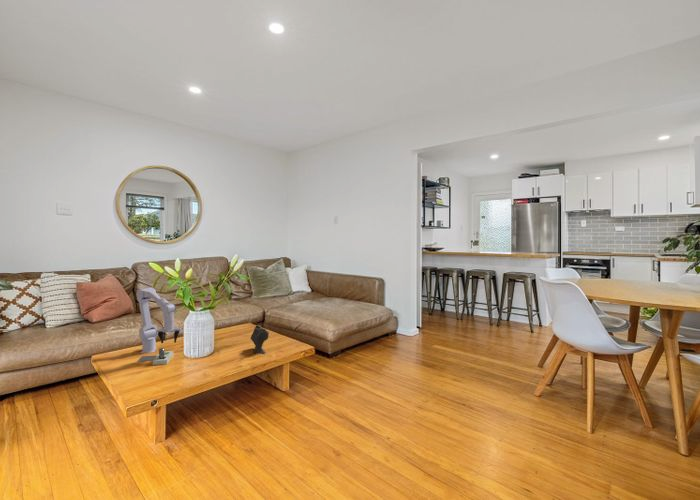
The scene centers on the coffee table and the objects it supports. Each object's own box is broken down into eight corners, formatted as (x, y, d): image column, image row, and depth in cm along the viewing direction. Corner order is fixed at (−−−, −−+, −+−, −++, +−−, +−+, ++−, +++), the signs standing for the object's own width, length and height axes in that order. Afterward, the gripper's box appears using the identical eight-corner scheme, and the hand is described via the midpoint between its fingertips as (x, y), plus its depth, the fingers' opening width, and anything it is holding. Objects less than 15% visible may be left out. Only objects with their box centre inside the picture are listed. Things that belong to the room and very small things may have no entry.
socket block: (160, 356, 222) (160, 351, 222) (173, 355, 224) (173, 351, 224) (152, 365, 206) (152, 360, 206) (166, 364, 208) (166, 359, 208)
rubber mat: (141, 356, 220) (141, 356, 220) (158, 355, 222) (158, 355, 222) (136, 362, 210) (136, 361, 210) (154, 361, 213) (154, 360, 213)
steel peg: (159, 362, 212) (159, 348, 212) (164, 361, 213) (164, 347, 213) (158, 363, 209) (158, 349, 209) (163, 363, 210) (163, 349, 210)
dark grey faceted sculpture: (272, 346, 247) (272, 322, 246) (265, 354, 231) (265, 328, 230) (253, 345, 248) (254, 321, 247) (245, 352, 233) (246, 327, 232)
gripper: (154, 324, 214) (154, 345, 214) (179, 323, 217) (179, 343, 218) (158, 321, 220) (157, 341, 221) (181, 320, 224) (181, 340, 225)
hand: (168, 342), depth 220 cm, fingers open, 7 cm apart
